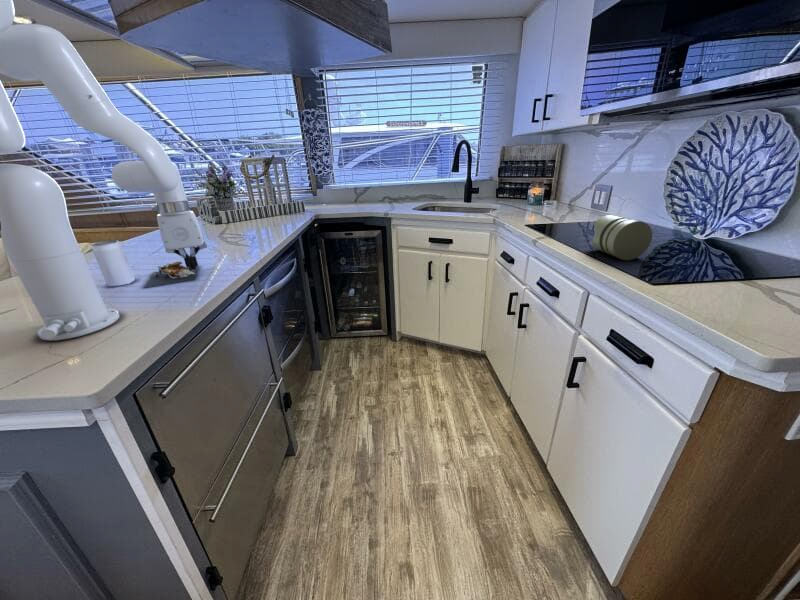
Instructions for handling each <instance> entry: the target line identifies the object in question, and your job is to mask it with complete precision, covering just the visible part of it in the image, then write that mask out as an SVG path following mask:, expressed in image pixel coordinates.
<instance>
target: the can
mask: <svg viewBox="0 0 800 600" xmlns="http://www.w3.org/2000/svg"><path fill="white" fill-rule="evenodd" d="M91 246H92V249H91V251H92V254H93V256H94V258H95V261H96V263H97V265H98V268H99V270H100V273H101V275H102V277H103V280H104V282H105V284H106V286H107V287H110V288H115V287H122V286H123V287H124V286H127V285H131V284H132V283H134V282H135V280H136V277H135V276H134V273H133V270H132V268H131V267H132V266H131V265H130V262H129V261H128V257H127V255H126V252H125V249H124V248H123V245H121V243H120V242H119V240H118V239H117V240H116V239H112V240H104V241H98V242H94V243H91Z"/></svg>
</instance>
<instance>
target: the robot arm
mask: <svg viewBox="0 0 800 600" xmlns="http://www.w3.org/2000/svg"><path fill="white" fill-rule="evenodd" d="M15 13H16V11H15V5H14V1H13V0H0V75H4V76H7V77H8V78H12V79H13V80H18V81H24V82H29V81H41V83H42V84H43V85H44V86H45V88H46V89H47V90H48V92H49V93H50V94H51V95H52V96H53V97H54V99H55V100H56V101H57V102H58V104H59V105H60V106H61V108H62V109H63V111H65V112H66V113H67V115H68V116H69V117H70V119H71V120H72V121H73V122H74V123H75V125H77V126H79V127H80V128H82V129H84V130H87V131H89V132H92V133H95V134H97V135H99V136H102V137H105V138H108V139H111V140H113V141H115V142H117V143H119V144H121V145H123V146H124V147H126V148H127V149H128V150H130V151H132V152H133V153H134V154H135V155H137V156H138V158H140V160H130V161H129V160H128V161H127V160H126V161H121V162H118V163H117V164H115V165H114V166H113V167H112V169H111V175H110V176H111V178H112V181H113V183H114V184H115V185H116V186H117V187H118V188H120V189H121V190H123V191H125V192H129V193H137V194H138V193H139V194H141V193H152V195H153V197H154V200H155V204H154V205H150V207H151V211H156V212H158V214H157V215H156V219H157V225H158V230H159V234H160V237H161V241H162V245H163V247H164V248H165V253H167V254H176V255H178V256H180V257H181V258H183V261H184V264H185V267H186V268H188V267H189V269H190V270H193V269H194V270H196V266H198V267H199V263H198V260H197V256H196V255H197V254H198V253H199V251H201V250H203V249H207V247H208V245H207V243H206V241H205V237H204V234H203V231H202V228H201V225H200V222H199V220H198V218H197V216H196V213H195V212H194V211H193V210H191V208H190V204H189V201H188V197H187V193H186V191H185V187H184V184H183V181H182V178H181V177H182V176H181V174H180V170H179V168H178V166H177V164H176V163H175V162H173V161H172V160H171V158H170V156H169V155H168V154H167V152H166V150H165V149H164V148H163V146H162V145H161V143H159V141H158V140H157V139H156V138H155V137H154V136H152V134H150V133H149V132H147V131H146V130H145V129H143V127H141V125H138V124H137V123H136V122H135V121H134V120H132V119H130V118H129V117H127V116H125V115H124V114H122V113H121V112H120V111H119V110H118V109H117V108H116V106H115V105H114V103H113V102H112V101H111V99H110V97H109V96H108V95H107V93H106V92H105V90H104V89H103V88H102V86H101V84H100V83H99V81H98V80H97V78H96V77H95V76H94V74H93V73H92V71H91V70H90V68H89V67H88V65H87V63H86V62H85V61H84V60H83V58H82V57H81V55H80V54H79V52H78V51H77V49H76V48H75V46H74V45H73V44H72V42H71V41H70V40H69V39H68V38H67V37H66V36H65V35H64V34H63V33H62V32H61V31H59V30H57V29H55V28H53V27H52V26H48V25H44V24H39V23H37V24H36V23H20V24H13V23H14V21H15V18H16V17H15V15H16V14H15ZM25 144H26V135H25V132H24V129H23V127H22V124H21V123H20V120H19V118H18V115H17V114H16V111H15V109H14V106H13V105H12V103H11V100H10V98H9V96H8V93H7V91H6V89H5V87H4V85H3V82H2V81H1V79H0V156H1V155H9V154H14V153H17V152H19V151H21V150H22V149H23V148H24V146H25ZM67 208H68V207H67V202H66V198H65V195H64V192H63V190H62V188H61V187H60V185H59V184H58V182H57V181H56V180H55V179H54V178H52V177H51V176H50V175H49V174H48V173H46V172H44V171H43V170H40V169H38V168H36V167H33V166H30V165H26V164H25V165H23V164H18V163H0V238H1V243H2V247H3V249H4V251H5V253H6V255H7V257H8V259H9V261H10V262H11V264H12V266H13V268H14V270H15V271H16V273H17V275H18V277H19V279H20V280H21V283H22V284H23V286H24V288H25V290H26V292H27V293H28V295H29V297H30V299H31V301H32V303H33V305H34V306H35V308H36V311H37V312H38V314H39V316H40V318H41V319H42V321H43V323H44V325H43V326H42V327H41V328H39V329H38V330H37V336H38V338H39V339H40V340H43V341H51V342H52V341H61V340H70V339H73V338H78V337H81V336H82V337H83V336H85V335H89V334H93V333H94V332H98V331H100V330H102V329H104V328H105V329H106V328H107V327H109V326H111V325H113V324H115V323H116V322H117V321H118V320H119V319H120V316H121V315H120V312H119V311H118V310H117V309H114V308H107V306H106V304H105V302H104V299H103V297H102V295H101V293H100V291H99V288H98V286H97V284H96V281H95V279H94V277H93V274H92V272H91V270H90V267H89V265H88V263H87V261H86V259H85V257H84V254H83V252H82V250H81V248H80V246H79V243H78V240H77V238H76V236H75V234H74V230H73V229H72V226H71V222H70V218H69V216H68V209H67ZM186 249H189V253H190V254H188V252H187V251H186Z"/></svg>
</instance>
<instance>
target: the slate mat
mask: <svg viewBox="0 0 800 600" xmlns="http://www.w3.org/2000/svg"><path fill="white" fill-rule="evenodd" d="M187 268H188V270H189V271H191V272H193V273H194V274H190V275H188V276H187V277H182V278H177V277H176V278H170V276H169V275H168V274H162V273H160V272H159V271H155V272H154V273H153V274H152V276H151V278H149V280H148V282H147V283H146V284H145V286H144V287H143V288H144V289H148V288H154V287H159V286H166V285H171V284H173V285H174V284H177V283H178V284H179V283H184V282H190V281H195V278H196V275H197V271H198V268H199V265H198V266H196V270H194V269H193V270H190V269H189V267H187ZM155 274H160V276H159V277H157V276H156V277H155V276H154V275H155Z"/></svg>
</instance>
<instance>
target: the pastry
mask: <svg viewBox="0 0 800 600" xmlns="http://www.w3.org/2000/svg"><path fill="white" fill-rule="evenodd" d="M182 264H183V261H176V262H175V261H174V262H172V263H169V262H168V263H166V264H164V265H163V266H160V265H158V266H157V268H158V272H160V273H162V274H168V275H169V276H170V278H176V277H177V278H182V277H187V276H188V275H190V274H194V273H193V272H191V271H189V270H188V267H186V266H184V265H182ZM154 276H155V277H156V276H157V277H159V276H160V274H155V275H154Z"/></svg>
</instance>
